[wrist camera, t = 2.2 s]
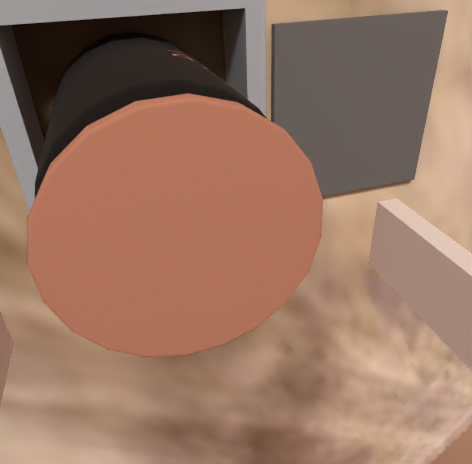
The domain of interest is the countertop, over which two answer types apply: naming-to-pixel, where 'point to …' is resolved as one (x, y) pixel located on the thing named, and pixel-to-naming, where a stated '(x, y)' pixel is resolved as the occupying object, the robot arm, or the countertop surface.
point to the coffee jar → (166, 203)
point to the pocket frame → (108, 6)
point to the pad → (356, 94)
